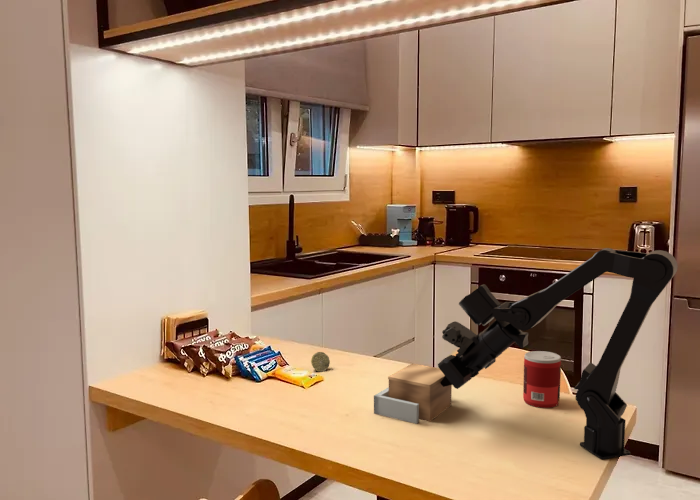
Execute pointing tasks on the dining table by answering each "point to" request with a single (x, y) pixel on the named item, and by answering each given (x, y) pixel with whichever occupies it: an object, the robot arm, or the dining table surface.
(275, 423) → the dining table surface
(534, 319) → the robot arm
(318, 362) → the olive speckled ball
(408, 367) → the tea box
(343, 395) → the dining table surface
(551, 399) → the canned food
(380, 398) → the bay
